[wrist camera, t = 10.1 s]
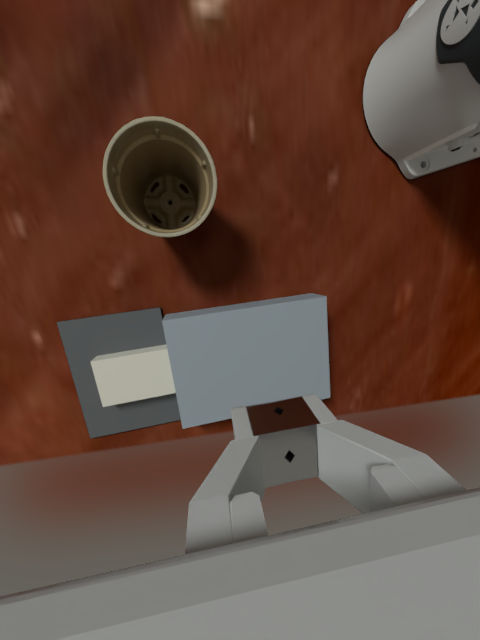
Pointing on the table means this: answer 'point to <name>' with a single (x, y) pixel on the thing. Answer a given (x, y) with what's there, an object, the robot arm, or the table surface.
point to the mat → (107, 338)
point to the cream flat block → (133, 375)
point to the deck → (247, 355)
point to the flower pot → (159, 176)
